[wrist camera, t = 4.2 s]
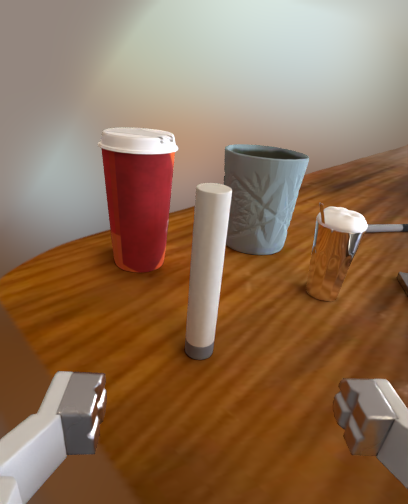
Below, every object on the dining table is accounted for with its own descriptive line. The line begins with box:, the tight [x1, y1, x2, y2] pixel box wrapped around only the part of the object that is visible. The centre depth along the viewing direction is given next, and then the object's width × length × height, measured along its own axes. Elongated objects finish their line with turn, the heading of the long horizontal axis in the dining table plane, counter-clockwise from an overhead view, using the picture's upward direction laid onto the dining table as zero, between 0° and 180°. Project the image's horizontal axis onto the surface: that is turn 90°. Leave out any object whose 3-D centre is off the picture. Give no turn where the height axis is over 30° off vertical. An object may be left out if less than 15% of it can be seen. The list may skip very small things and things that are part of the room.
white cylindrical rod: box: [185, 183, 232, 360], centre depth 23 cm, size 2×2×13 cm
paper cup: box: [98, 128, 178, 272], centre depth 35 cm, size 8×8×14 cm
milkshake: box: [306, 203, 368, 301], centre depth 33 cm, size 5×5×10 cm
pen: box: [366, 224, 408, 232], centre depth 53 cm, size 1×16×1 cm, turn 103°
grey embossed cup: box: [224, 145, 309, 255], centre depth 44 cm, size 10×10×12 cm
